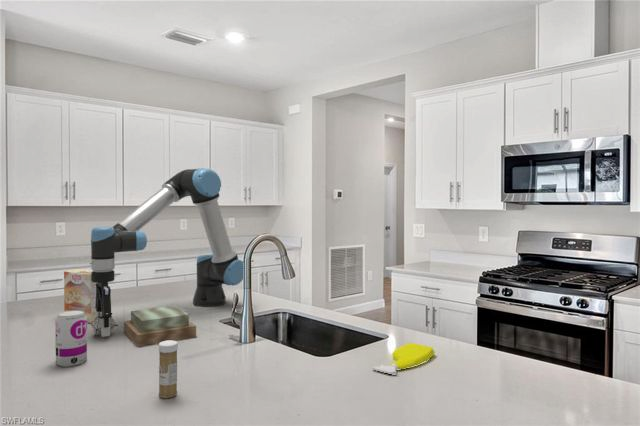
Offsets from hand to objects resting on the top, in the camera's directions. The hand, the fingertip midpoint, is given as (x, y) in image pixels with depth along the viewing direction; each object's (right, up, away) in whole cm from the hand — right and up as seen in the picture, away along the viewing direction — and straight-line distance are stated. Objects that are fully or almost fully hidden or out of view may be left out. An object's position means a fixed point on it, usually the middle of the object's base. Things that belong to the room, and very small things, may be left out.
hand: (103, 332), depth 165 cm
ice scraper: (+104, -4, -24) cm, 106 cm away
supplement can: (+3, -2, -27) cm, 27 cm away
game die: (0, -1, 0) cm, 1 cm away
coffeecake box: (-18, 0, +23) cm, 29 cm away
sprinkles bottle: (+40, -3, -49) cm, 63 cm away
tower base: (+20, -1, +2) cm, 20 cm away
